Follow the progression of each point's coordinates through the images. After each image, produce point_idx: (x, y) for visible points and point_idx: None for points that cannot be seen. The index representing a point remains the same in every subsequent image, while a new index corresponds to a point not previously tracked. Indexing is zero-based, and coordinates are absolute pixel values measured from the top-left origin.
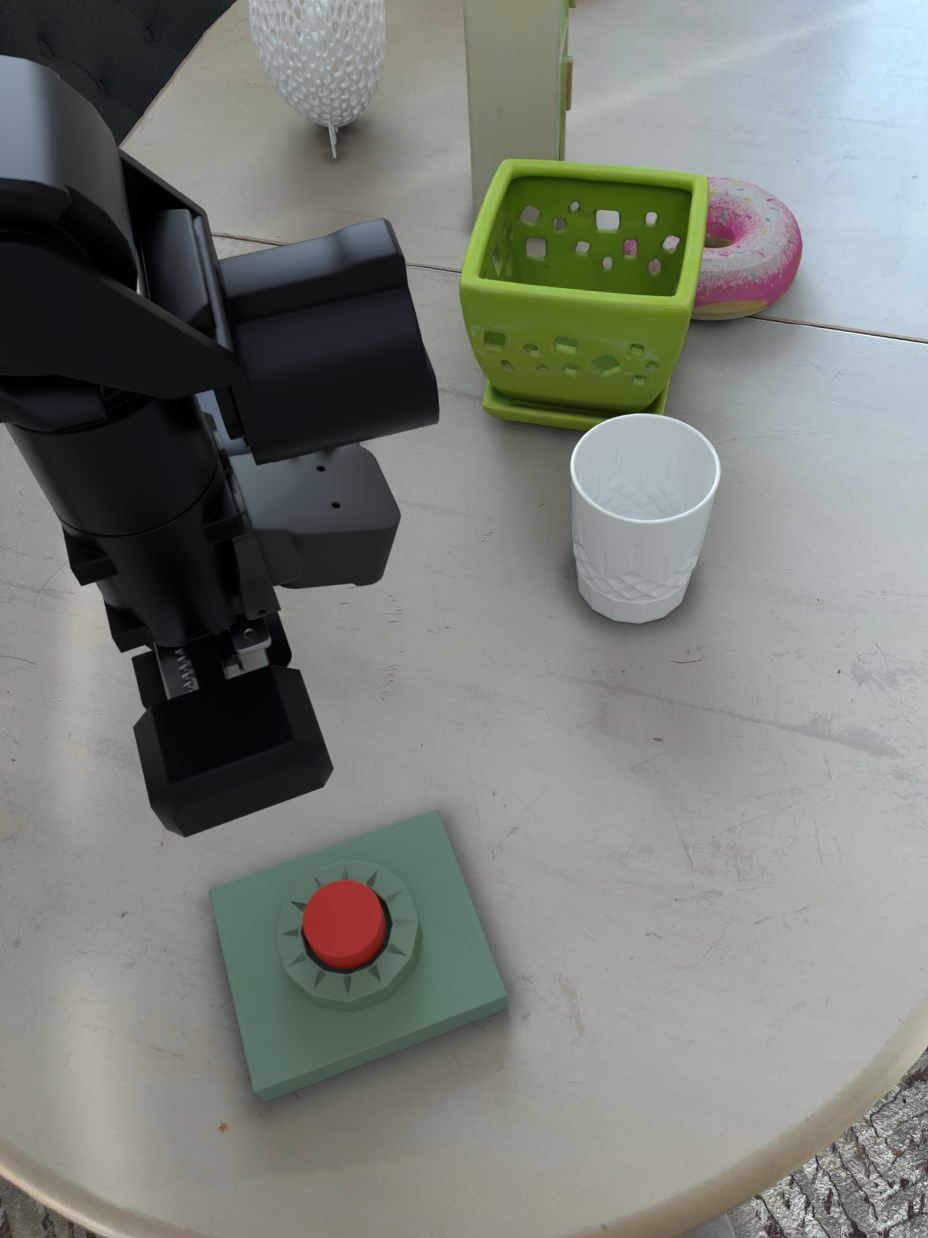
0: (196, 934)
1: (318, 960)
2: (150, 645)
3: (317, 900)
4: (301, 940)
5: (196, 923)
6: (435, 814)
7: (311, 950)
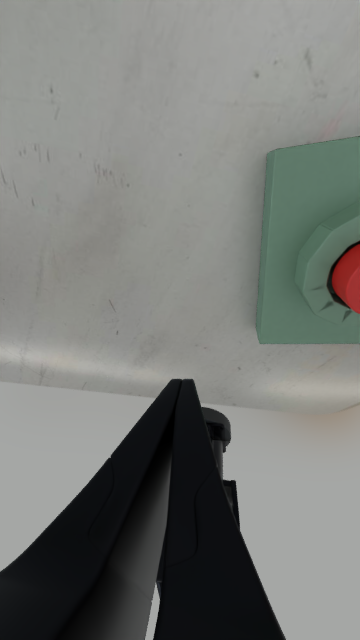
0: None
1: None
2: (144, 638)
3: (356, 301)
4: None
5: None
6: (281, 153)
7: None
